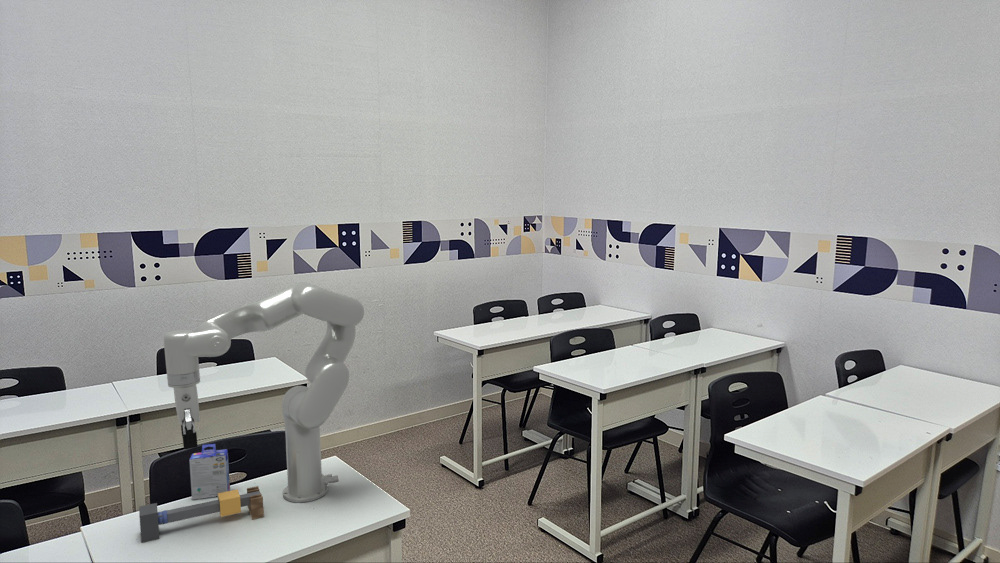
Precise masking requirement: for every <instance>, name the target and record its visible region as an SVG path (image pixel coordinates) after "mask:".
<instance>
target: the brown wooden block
mask: <svg viewBox="0 0 1000 563" xmlns="http://www.w3.org/2000/svg"><path fill="white" fill-rule="evenodd" d="M257 491H260V487H259V485H257V486H252V487H247V488H246V494H247V493H252V492H257ZM260 492H261V491H260ZM247 509H248V512H249V514H250V516H251V520H257V519H261V518H262V519H263V518H264V517H265V510H264V509H265V508H264V496H263V494H262V493H261V494H258V495H253V496H250V505H249V506H247Z"/></svg>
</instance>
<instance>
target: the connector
mask: <svg viewBox="0 0 1000 563" xmlns="http://www.w3.org/2000/svg"><path fill="white" fill-rule="evenodd" d="M138 509H139V512H138V513H139V528H140V538H141V539H140V541H141V543H142V544H143V543H146V542H152V541H156V540H159V539H160V538H161V537H160V525H158V524H161V523H163V516H162V517H158V516H159V515H163V512H161V511H158V503H157V502H155V503H149V504H145V505H140V506H138Z"/></svg>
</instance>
